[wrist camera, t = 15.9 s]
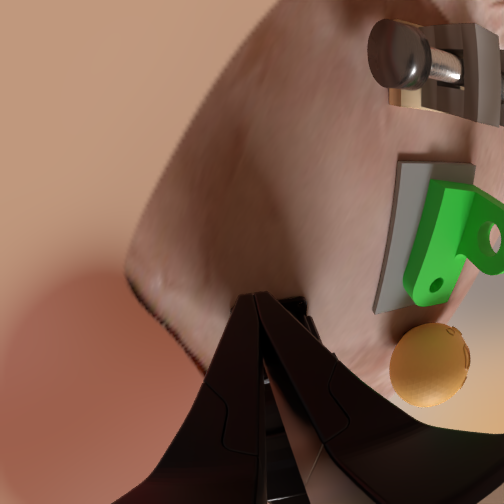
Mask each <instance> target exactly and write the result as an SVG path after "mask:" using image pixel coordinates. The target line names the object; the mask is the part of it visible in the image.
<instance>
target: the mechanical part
mask: <svg viewBox="0 0 504 504" xmlns="http://www.w3.org/2000/svg"><path fill="white" fill-rule="evenodd" d="M494 224H496V225H497V227H498V228H499V230H500V233H501V246H500V249H499V251H498V252H497V253H495V252H494V251H493V249H492V248H491V245H490V240H489V235H490V231H491V228H492V226H493V225H494ZM466 258H468V259H469V260H470V261H471V262H472V263H473V264H474V265H475V266H476V267H477V268H478V269H479V270H480V271H482V272H483V273H485V274H488V275H498V274H502V273H504V204H503V203H501V202H500V201H498V200H497V199H495V198H494V197H492V196H491V195H489V194H488V193H486V192H484V191H483V190H481V189H479V188H478V187H476V186H474V185H471V184H464V183H457V182H450V181H443V180H435V179H430V182H429V187H428V191H427V196H426V200H425V204H424V208H423V212H422V216H421V219H420V223H419V227H418V230H417V234H416V237H415V241H414V244H413V247H412V250H411V254H410V257H409V260H408V263H407V266H406V269H405V272H404V275H403V287H404V289H405V290H406V292H407V293H408V294H409V296H410V297H411V298H412V300H413V301H414V302H415V304H416V305H418V306H421V307H426V306H432V305H436V304H441V303H446V302H447V301H448V299H449V297H450V295H451V293H452V291H453V289H454V286H455V284H456V282H457V280H458V277H459V275H460V273H461V270H462V268H463V265H464V263H465V260H466Z"/></svg>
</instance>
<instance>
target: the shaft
mask: <svg viewBox="0 0 504 504" xmlns="http://www.w3.org/2000/svg"><path fill="white" fill-rule="evenodd" d="M367 52H368V62H369V67H370V70H371V73H372V75H373V77H374V78H375V80H376V81H377V82H378V83H379V84H380V85H381V86H383V87H386V88H394V89H401V90H408V91H415V90H418V89H420V88H421V87H422V86H423V85H424V84H425V83H426V81H427V79H428V78H431V79H435V80H440V81H444V82H447V83H451V84H455V85H458V86H462V87H464V58H462V57H460V56H457V55H454V54H451V53H448V52H445V51H442V50H439V49H436V48H433V47H430V45H429V42H428V40H427V38H426V36H425V35H424V33H423V32H422V31H421V30H420V29H418V28H417V27H415V26H412V25H408V24H405V23H401V22H397V21H393V20H389V19H383V20H380V21H378V22H377V23H376V24H375V25H374V27H373V28H372V30H371V33H370V36H369V40H368V49H367ZM501 100H504V75H502V74H501Z"/></svg>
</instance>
